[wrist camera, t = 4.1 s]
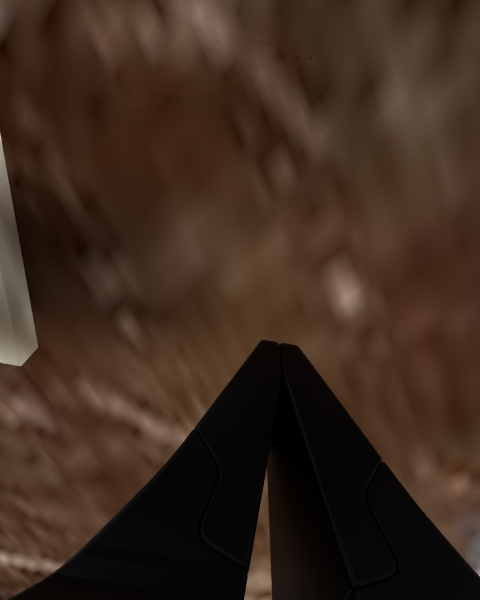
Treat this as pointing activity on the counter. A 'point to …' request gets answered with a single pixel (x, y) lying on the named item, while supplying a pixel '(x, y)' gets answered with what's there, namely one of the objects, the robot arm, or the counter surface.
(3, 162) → the board
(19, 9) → the counter surface
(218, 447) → the robot arm
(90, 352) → the counter surface
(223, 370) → the counter surface
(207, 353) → the counter surface
